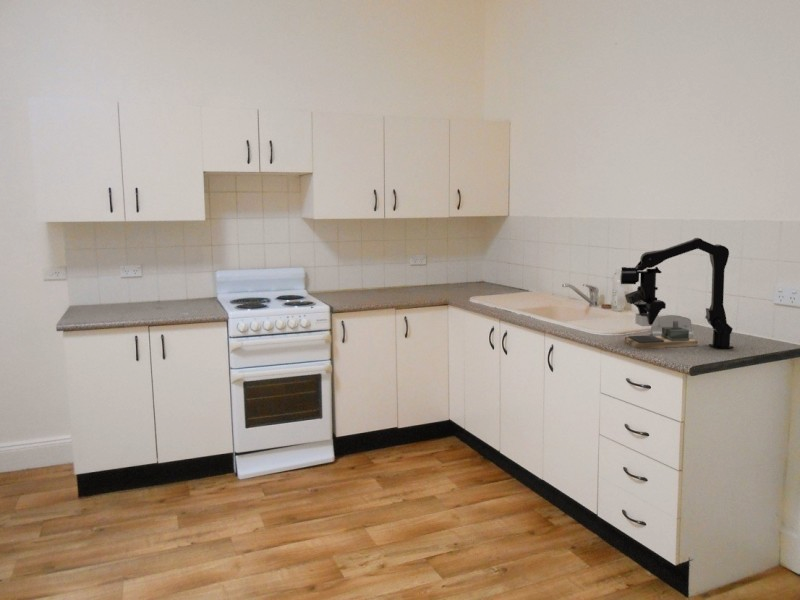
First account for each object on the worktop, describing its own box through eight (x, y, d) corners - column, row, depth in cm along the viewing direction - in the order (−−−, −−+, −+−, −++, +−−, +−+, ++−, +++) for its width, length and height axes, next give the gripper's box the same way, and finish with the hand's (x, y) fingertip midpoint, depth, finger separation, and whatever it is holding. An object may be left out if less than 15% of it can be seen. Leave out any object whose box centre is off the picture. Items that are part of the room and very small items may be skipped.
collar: (658, 325, 252) (658, 315, 251) (642, 326, 251) (642, 316, 251) (650, 322, 258) (651, 312, 257) (635, 323, 257) (635, 313, 257)
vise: (697, 346, 251) (698, 323, 250) (637, 348, 250) (638, 326, 248) (680, 339, 263) (681, 317, 262) (624, 341, 262) (625, 320, 260)
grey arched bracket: (652, 337, 268) (651, 314, 270) (650, 338, 273) (649, 315, 275) (694, 338, 265) (693, 314, 266) (692, 339, 269) (691, 316, 271)
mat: (664, 342, 251) (664, 340, 251) (639, 343, 250) (639, 341, 250) (652, 336, 261) (652, 335, 261) (628, 337, 260) (628, 336, 260)
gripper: (618, 282, 261) (617, 319, 263) (638, 288, 242) (637, 328, 245) (644, 281, 261) (643, 318, 264) (667, 287, 243) (665, 327, 245)
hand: (646, 323), depth 254 cm, fingers closed on collar, 6 cm apart
